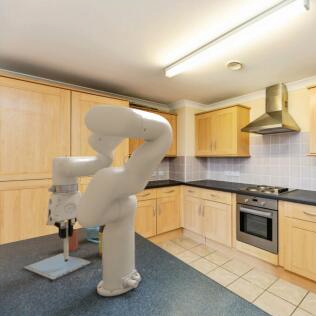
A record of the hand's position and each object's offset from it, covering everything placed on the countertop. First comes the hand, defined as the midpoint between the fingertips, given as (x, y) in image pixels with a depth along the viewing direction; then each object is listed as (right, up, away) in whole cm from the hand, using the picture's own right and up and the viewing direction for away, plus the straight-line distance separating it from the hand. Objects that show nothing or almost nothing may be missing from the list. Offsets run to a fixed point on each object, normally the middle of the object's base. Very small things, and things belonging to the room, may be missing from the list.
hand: (66, 236), depth 80 cm
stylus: (0, -10, 0) cm, 10 cm away
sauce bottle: (+8, -13, +13) cm, 20 cm away
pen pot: (-11, -13, +16) cm, 23 cm away
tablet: (-5, -13, +2) cm, 14 cm away
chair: (-7, -13, +28) cm, 31 cm away
